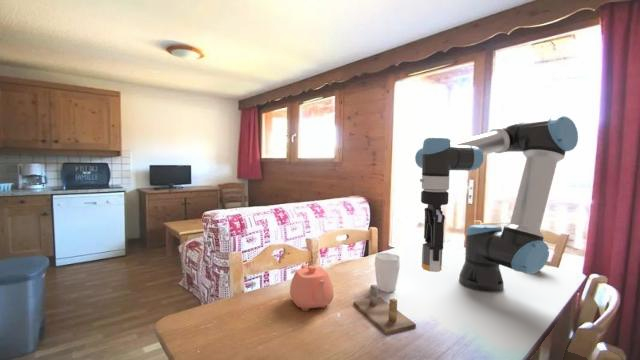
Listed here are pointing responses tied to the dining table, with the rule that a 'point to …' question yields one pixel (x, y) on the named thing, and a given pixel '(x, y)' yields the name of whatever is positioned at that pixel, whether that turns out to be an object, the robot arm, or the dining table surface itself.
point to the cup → (387, 271)
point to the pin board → (384, 313)
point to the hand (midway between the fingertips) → (431, 267)
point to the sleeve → (428, 257)
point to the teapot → (311, 288)
